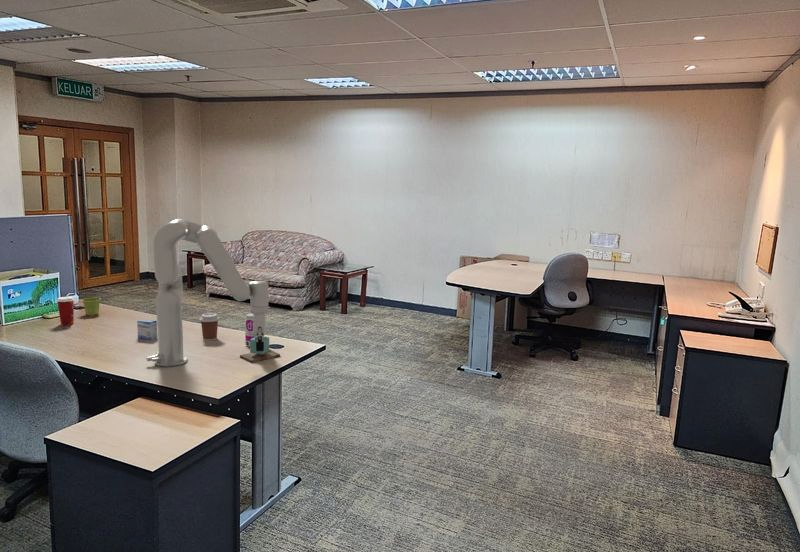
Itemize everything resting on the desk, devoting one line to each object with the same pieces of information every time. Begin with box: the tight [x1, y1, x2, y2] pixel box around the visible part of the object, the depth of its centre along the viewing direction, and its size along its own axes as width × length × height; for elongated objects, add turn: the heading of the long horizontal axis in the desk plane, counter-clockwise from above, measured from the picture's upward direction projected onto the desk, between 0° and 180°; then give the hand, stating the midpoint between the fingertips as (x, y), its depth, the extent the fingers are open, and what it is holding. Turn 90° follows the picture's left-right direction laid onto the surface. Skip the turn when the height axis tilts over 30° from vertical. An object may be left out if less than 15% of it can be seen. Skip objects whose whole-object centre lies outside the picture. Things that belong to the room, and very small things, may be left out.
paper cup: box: [56, 296, 75, 326], centre depth 279 cm, size 8×8×14 cm
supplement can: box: [244, 312, 257, 348], centre depth 252 cm, size 8×8×15 cm
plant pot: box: [81, 297, 102, 316], centre depth 301 cm, size 9×9×9 cm
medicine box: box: [136, 318, 158, 340], centre depth 259 cm, size 8×4×9 cm, turn 76°
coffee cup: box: [198, 312, 220, 342], centre depth 260 cm, size 9×9×12 cm
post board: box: [239, 349, 281, 364], centre depth 236 cm, size 14×10×6 cm
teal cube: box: [249, 336, 270, 354], centre depth 235 cm, size 6×6×6 cm
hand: (259, 347), depth 235 cm, fingers closed on teal cube, 8 cm apart
